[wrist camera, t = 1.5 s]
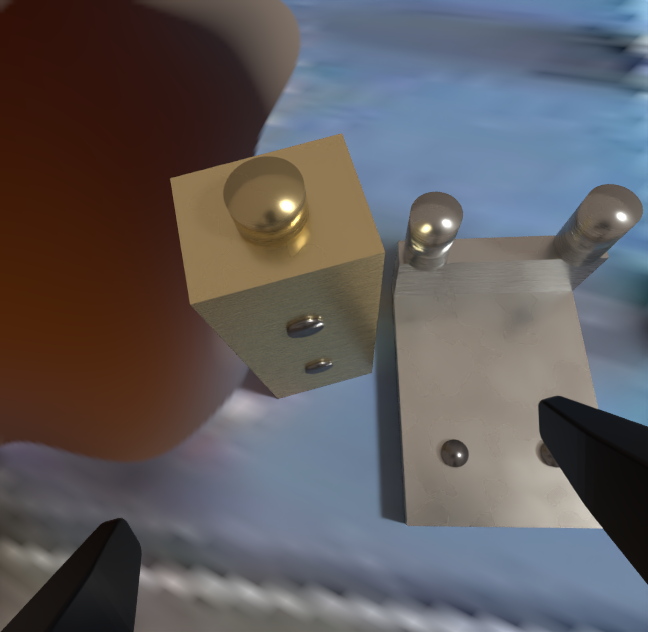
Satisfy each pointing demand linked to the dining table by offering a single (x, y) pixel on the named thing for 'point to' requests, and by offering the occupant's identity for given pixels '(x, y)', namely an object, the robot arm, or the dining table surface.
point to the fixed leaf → (493, 361)
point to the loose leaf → (285, 262)
